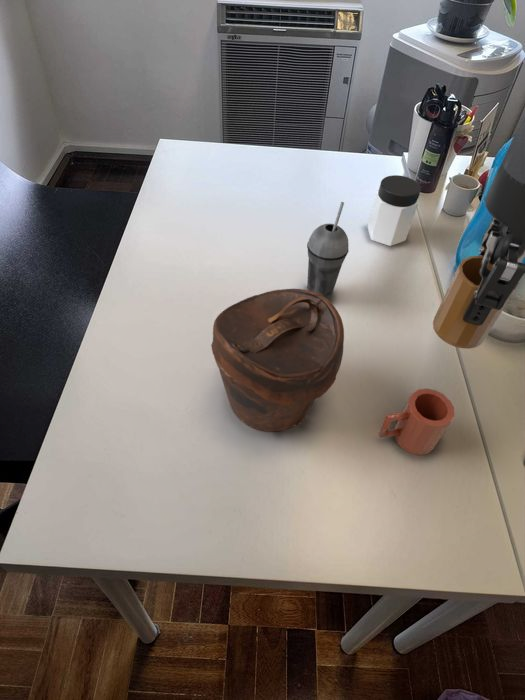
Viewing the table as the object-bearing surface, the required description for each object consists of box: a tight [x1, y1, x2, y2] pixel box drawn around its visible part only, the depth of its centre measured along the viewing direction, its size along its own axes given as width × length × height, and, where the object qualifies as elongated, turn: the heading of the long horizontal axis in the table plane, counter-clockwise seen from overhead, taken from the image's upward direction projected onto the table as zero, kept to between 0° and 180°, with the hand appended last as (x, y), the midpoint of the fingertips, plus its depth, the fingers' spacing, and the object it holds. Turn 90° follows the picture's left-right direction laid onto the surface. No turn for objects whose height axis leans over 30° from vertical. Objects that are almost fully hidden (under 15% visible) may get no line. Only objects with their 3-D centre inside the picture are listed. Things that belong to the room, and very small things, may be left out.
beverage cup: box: [306, 201, 350, 301], centre depth 83 cm, size 7×7×20 cm
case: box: [210, 288, 345, 432], centre depth 68 cm, size 18×20×18 cm
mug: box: [377, 388, 455, 456], centre depth 68 cm, size 9×6×8 cm, turn 99°
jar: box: [367, 174, 422, 247], centre depth 100 cm, size 9×8×12 cm
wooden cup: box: [432, 255, 520, 350], centre depth 55 cm, size 6×6×9 cm
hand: (474, 301), depth 55 cm, fingers closed on wooden cup, 6 cm apart
